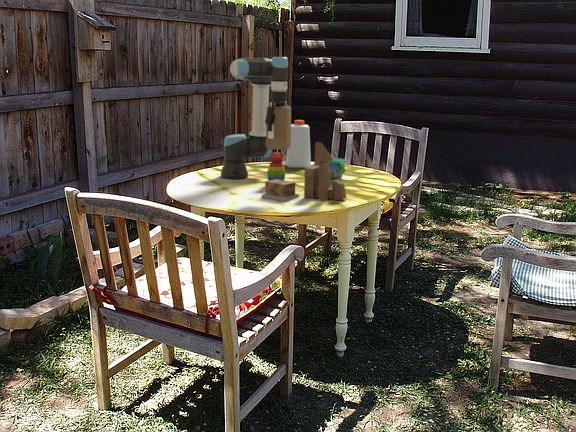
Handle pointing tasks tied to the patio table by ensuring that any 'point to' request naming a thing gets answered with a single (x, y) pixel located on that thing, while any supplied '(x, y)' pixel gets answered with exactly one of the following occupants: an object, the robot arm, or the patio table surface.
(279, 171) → the stacking bear
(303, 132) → the plastic bottle
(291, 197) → the plate
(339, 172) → the snack cup
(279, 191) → the walnut brick
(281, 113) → the wooden block
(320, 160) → the wooden blocks
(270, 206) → the patio table surface
